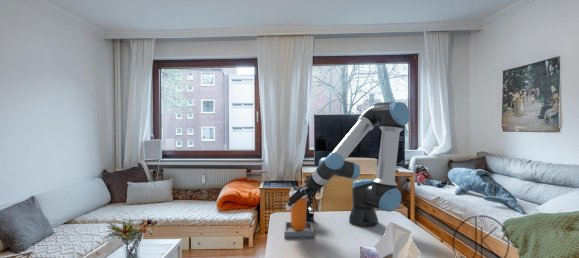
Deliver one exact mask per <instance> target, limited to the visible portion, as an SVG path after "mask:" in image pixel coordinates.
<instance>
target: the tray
mask: <svg viewBox="0 0 579 258" xmlns="http://www.w3.org/2000/svg"><path fill="white" fill-rule="evenodd" d="M284 239H314V227H313V223H312V222H306V228H305V229H304V230H294V229H292V228H291V221H285V222H284Z"/></svg>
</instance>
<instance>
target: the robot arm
mask: <svg viewBox="0 0 579 258" xmlns="http://www.w3.org/2000/svg"><path fill="white" fill-rule="evenodd" d="M410 119H411V113H410V109H409V108H408V106H407V104H406V103H404V102H402V101H395V100H394V101H385V102H376V103H374V104H372V105H370V106H369V107H368V108H366V109H365V110H364V111H363V112H362V113H361V114H360V115H359V117H357V122H356V123H355V124H354V125H353V126H352V128H351V129H350V130H349V131H348V133H346V135H345V136H344V137H343V138H342V140H341V141H340V142H339V143H338V144H337V146H336V147H335V148H334V149H333V151H331V152H330V153H329V154H328V155H327V156H326V157H321V158H320V159H319V161H318V166H317V168H316V169H315V170H314V171H313V172H312V173H311V175H310V176H308V178H307V179H308V181H307V183H306V185H305V184H304V186H299V187H300V188H299V190H298V191H296V192H295V193H294V194H293V195H292V196H291V197H289V198H288V201H289V202H287V204H286V205H285V206H284V208H285V209H286V211H287V212H289V211H291V208H292V207H293V206H294V205H295V202H297V201H298V200H299V199H300V198H302V197H303V196H304V195H307V196H308V197H307V201H312V198H313V199H314V198H315V196H316V194H318V192H319V191H320V190H321V189H322V188H323V187H324V186H325V185H326V184H328V183H329V181H330V180H331V178H333V176H336V177H341V178H346V179H348V180H349V179H350V180H354V181H353V182H352V187H351V190H352V193H351V195H352V207H351V211H350V214H349V217H348V219H349V221H348V222H349V224H351V225H353V226H356V227H358V228H359V227H361V228H373V227H376V226H378V224H379V219H378V215H377V211H376V209H378V210H381V211H383V212H389V213H390V212H394V211H395V210H396V209H397V208H399V206H400V204H401V202H402V194H401V191H400V190H399V189H398V184H397V182H396V179H395V178H396V171H397V161H398V153H399V142H400V133H401V132H402V131H404V126H406V125H407V124H409V122H410ZM377 126H378V128H379V129H380V131H381V135H380V136H381V137H380V143H379V144H380V146H379V152H378V153H379V154H378V164H377V171H376V177H375V179H372V178H370V179H367V178H365V179H364V178H363V179H357V178H359V176H360V175H361V166H360V165H359V164H358V163H356V162H353V161H348V160H347V158H348V157H349V156H350V154H351V153H352V152H353V151H354V149H355V148H357V146H358V145H359V143H360V142H361V141H362V139H363V138H364V137H365V136H366V135H367V133H369V131H372V130H373V129H374V128H375V127H377ZM304 191H305V192H306V193H305V192H304ZM309 199H310V200H309Z"/></svg>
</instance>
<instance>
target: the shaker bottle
mask: <svg viewBox="0 0 579 258" xmlns="http://www.w3.org/2000/svg"><path fill="white" fill-rule="evenodd" d="M300 187H301V186H296V185H295V186H293V187H291V188H290V191H289V192H288V193H289V198H290V197H291V196H292V195H293V194H294V193H295V192H296V191H298V190H299V188H300ZM304 192H305V191H304ZM305 193H306V192H305ZM307 197H308V196H307V195H304V196H303V197H302V198H300V199H299V200H298V201H297V202H295V205H294V206H293V207H292V208H291V209H290V222H291V228H292V229H294V230H304V229H305V228H306V210H307Z"/></svg>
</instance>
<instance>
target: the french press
mask: <svg viewBox="0 0 579 258" xmlns="http://www.w3.org/2000/svg"><path fill="white" fill-rule="evenodd" d="M301 181H303V182H304V186H305V185H306V184H307V182H308V178H302V179H301ZM311 198H312V197H311ZM310 204H312V207H310V206H309V205H310ZM314 206H315V200H314V197H313V198H312V200H310V199H309V200H308V201H307V210H306V222H312V224H313V223H314V222H315V217H314V216H315V215H314V214H315V207H314Z"/></svg>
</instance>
